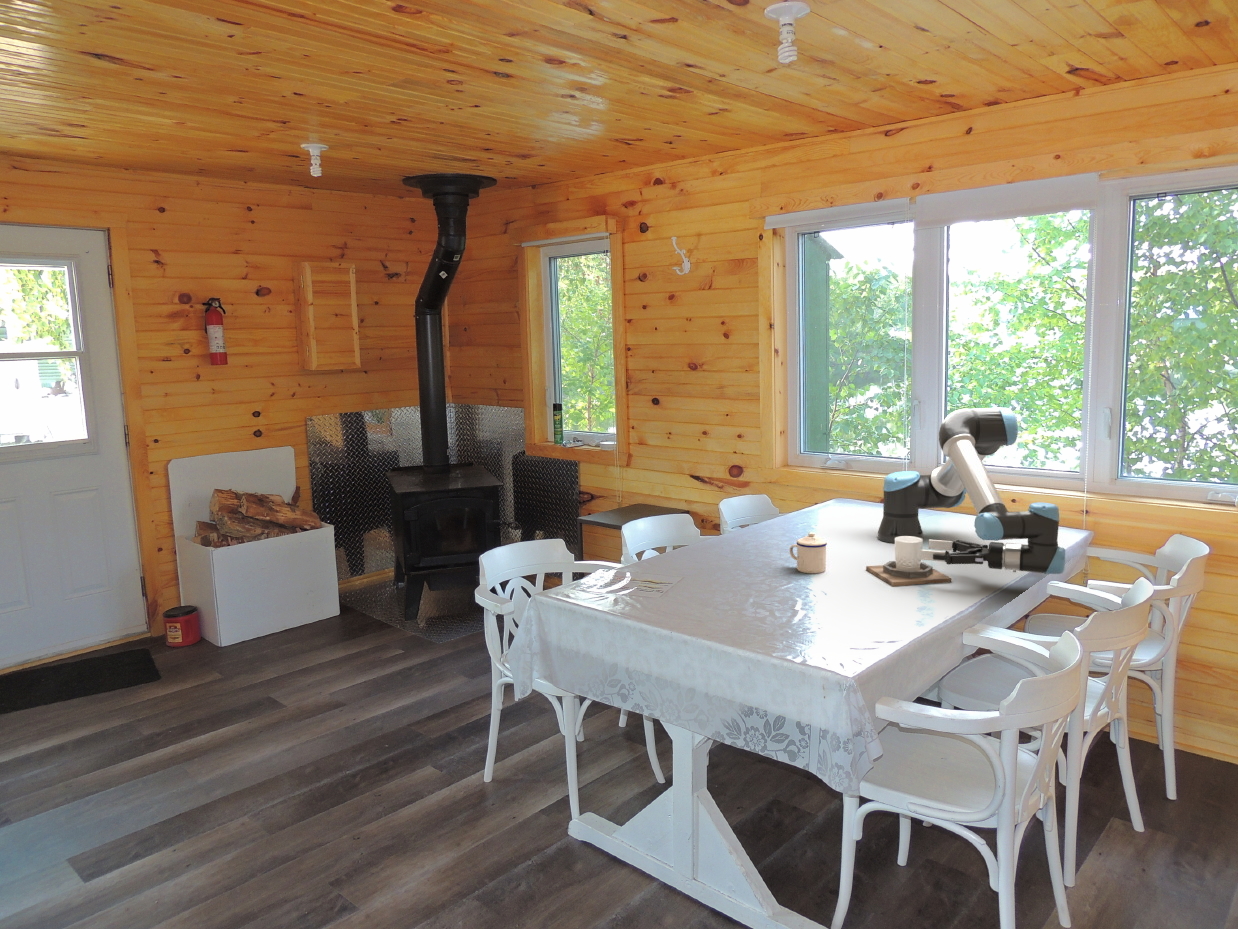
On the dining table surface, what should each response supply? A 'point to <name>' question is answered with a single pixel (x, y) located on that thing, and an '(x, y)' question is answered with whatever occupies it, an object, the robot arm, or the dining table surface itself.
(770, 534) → the dining table surface
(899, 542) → the white cup
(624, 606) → the dining table surface
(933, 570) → the ring holder
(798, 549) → the teacup with lid
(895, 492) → the robot arm
